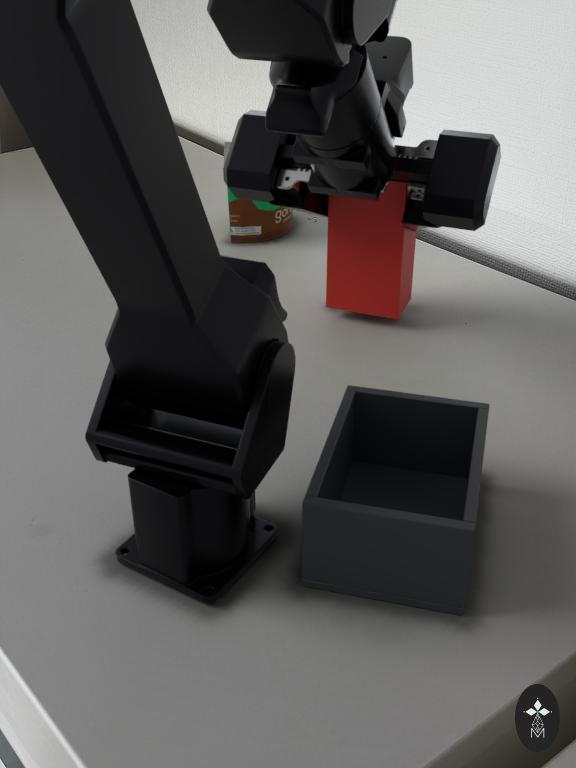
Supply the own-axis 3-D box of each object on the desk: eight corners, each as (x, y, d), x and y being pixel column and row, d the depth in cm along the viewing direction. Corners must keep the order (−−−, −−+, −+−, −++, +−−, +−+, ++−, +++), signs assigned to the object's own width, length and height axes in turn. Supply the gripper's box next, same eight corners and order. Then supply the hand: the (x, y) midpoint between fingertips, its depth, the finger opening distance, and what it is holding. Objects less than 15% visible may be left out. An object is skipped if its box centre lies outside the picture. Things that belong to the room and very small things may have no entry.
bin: (462, 616, 43) (474, 530, 40) (301, 586, 45) (301, 502, 42) (478, 480, 52) (489, 403, 49) (344, 460, 54) (347, 384, 51)
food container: (290, 253, 82) (290, 147, 77) (226, 248, 83) (222, 143, 78) (313, 208, 92) (314, 112, 87) (256, 204, 93) (254, 109, 88)
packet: (397, 319, 68) (407, 182, 62) (325, 307, 70) (328, 173, 64) (411, 299, 71) (421, 166, 65) (341, 287, 73) (346, 158, 67)
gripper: (515, 4, 52) (520, 140, 67) (234, -10, 58) (294, 117, 73) (474, 171, 50) (488, 274, 65) (186, 137, 56) (258, 239, 71)
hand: (378, 220), depth 68 cm, fingers closed on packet, 6 cm apart
